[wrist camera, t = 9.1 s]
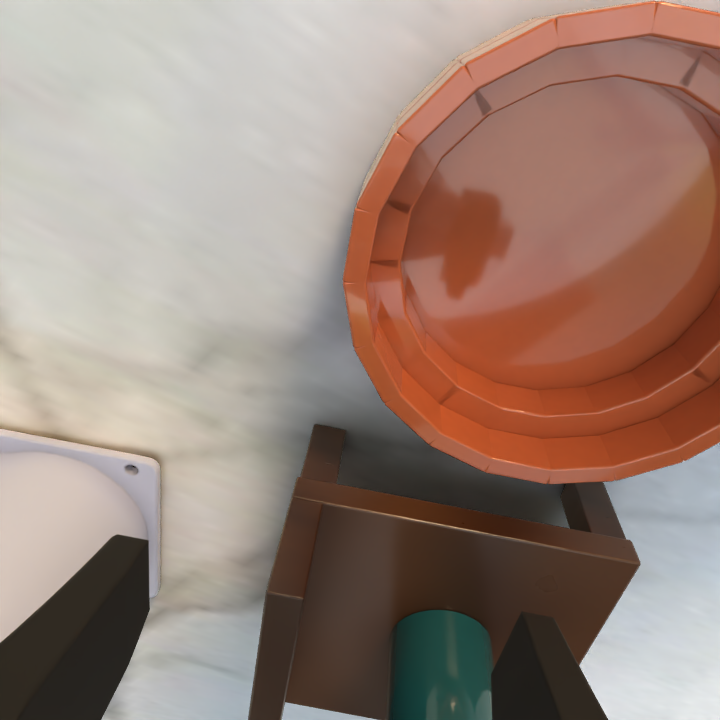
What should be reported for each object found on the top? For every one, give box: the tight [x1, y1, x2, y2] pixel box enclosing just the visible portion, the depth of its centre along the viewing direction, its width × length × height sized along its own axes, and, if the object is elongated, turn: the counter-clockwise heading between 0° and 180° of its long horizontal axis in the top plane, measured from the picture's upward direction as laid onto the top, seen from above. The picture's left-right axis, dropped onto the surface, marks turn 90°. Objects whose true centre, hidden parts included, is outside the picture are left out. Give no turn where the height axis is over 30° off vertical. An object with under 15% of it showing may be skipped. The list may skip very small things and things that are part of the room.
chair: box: [248, 425, 640, 720], centre depth 21 cm, size 11×11×8 cm
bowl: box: [343, 1, 720, 484], centre depth 16 cm, size 12×12×4 cm
